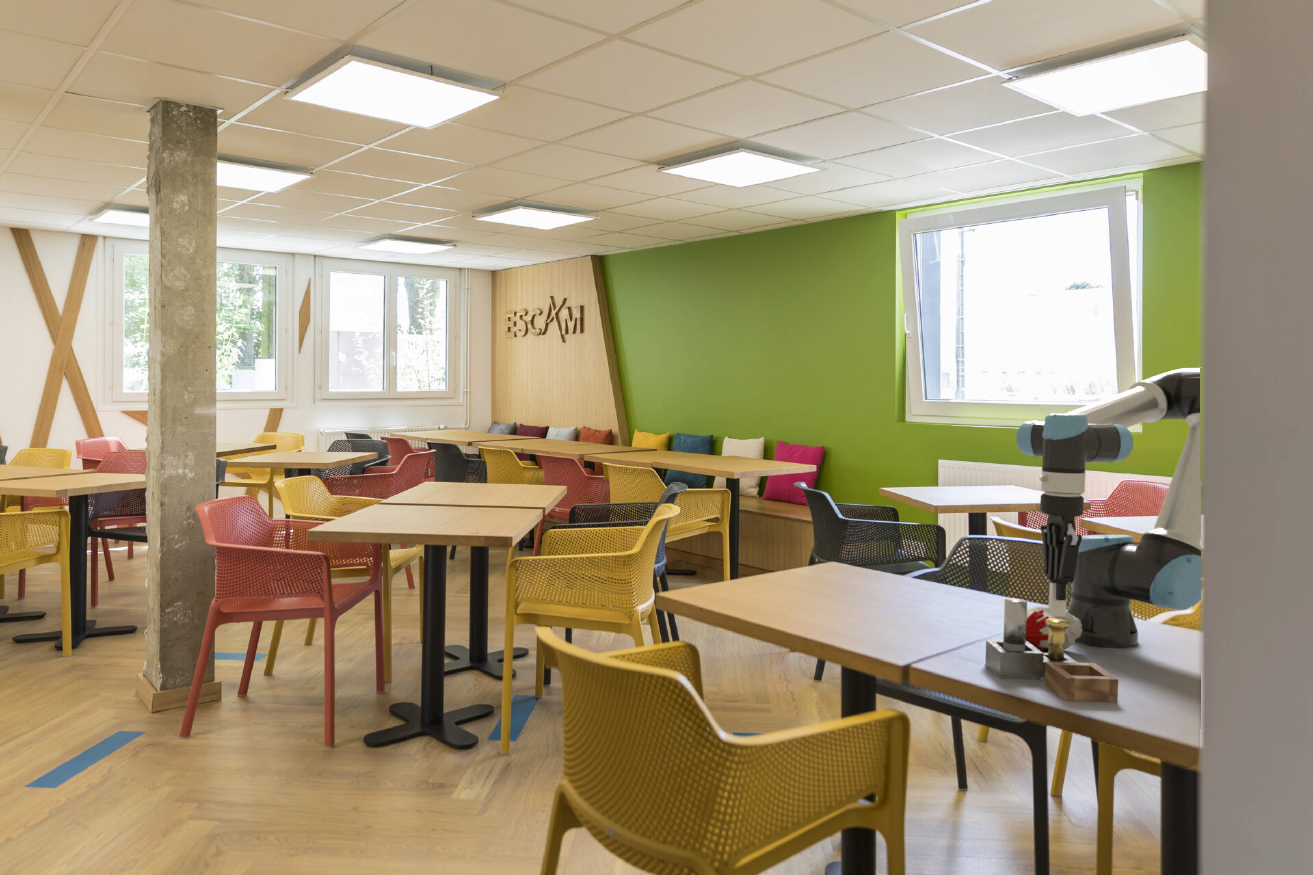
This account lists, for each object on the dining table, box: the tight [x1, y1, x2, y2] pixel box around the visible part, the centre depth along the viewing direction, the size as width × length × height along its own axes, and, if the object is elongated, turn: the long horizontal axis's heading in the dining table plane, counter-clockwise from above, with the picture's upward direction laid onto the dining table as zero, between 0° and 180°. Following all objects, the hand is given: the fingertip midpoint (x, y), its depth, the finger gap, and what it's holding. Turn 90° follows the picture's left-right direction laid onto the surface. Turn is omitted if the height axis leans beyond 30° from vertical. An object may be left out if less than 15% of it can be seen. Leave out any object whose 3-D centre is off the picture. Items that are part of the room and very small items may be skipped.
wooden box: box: [1044, 662, 1119, 703], centre depth 154 cm, size 9×9×4 cm
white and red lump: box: [1026, 605, 1082, 651], centre depth 181 cm, size 9×11×15 cm
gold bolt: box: [1046, 618, 1069, 659], centre depth 165 cm, size 4×4×7 cm
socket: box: [984, 639, 1079, 680], centre depth 165 cm, size 15×8×5 cm, turn 88°
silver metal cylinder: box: [1002, 598, 1028, 651], centre depth 165 cm, size 4×4×14 cm
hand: (1057, 615), depth 164 cm, fingers closed
